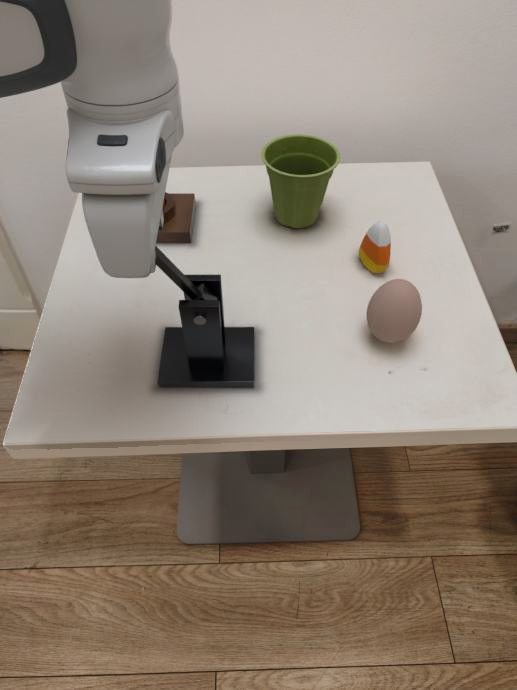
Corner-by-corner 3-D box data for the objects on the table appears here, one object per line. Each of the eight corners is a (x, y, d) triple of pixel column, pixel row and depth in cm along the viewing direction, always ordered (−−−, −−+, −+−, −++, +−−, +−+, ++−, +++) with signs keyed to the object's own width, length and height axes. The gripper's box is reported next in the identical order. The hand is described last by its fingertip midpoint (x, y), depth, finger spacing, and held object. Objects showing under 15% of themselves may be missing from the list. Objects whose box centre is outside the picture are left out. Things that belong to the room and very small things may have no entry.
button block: (115, 243, 82) (109, 222, 79) (125, 204, 88) (120, 184, 85) (191, 243, 82) (188, 222, 79) (195, 204, 88) (193, 184, 85)
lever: (125, 259, 51) (144, 249, 50) (133, 227, 54) (151, 217, 53) (198, 328, 59) (216, 320, 58) (201, 296, 62) (218, 289, 61)
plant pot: (346, 215, 86) (356, 153, 78) (298, 248, 81) (304, 186, 72) (293, 185, 92) (297, 125, 83) (246, 215, 86) (244, 153, 77)
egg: (421, 347, 69) (441, 296, 61) (375, 360, 67) (390, 310, 60) (397, 311, 73) (413, 259, 65) (353, 322, 72) (364, 271, 64)
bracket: (158, 387, 65) (140, 320, 55) (166, 332, 70) (151, 262, 60) (254, 387, 65) (253, 320, 55) (254, 332, 70) (254, 262, 60)
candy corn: (391, 273, 78) (403, 231, 71) (374, 279, 77) (385, 237, 71) (369, 249, 81) (379, 207, 75) (353, 255, 80) (361, 213, 74)
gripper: (110, 58, 48) (135, 186, 59) (58, 187, 35) (102, 320, 46) (178, 59, 48) (190, 187, 59) (151, 189, 36) (172, 321, 46)
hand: (151, 247), depth 53 cm, fingers closed on lever, 5 cm apart
